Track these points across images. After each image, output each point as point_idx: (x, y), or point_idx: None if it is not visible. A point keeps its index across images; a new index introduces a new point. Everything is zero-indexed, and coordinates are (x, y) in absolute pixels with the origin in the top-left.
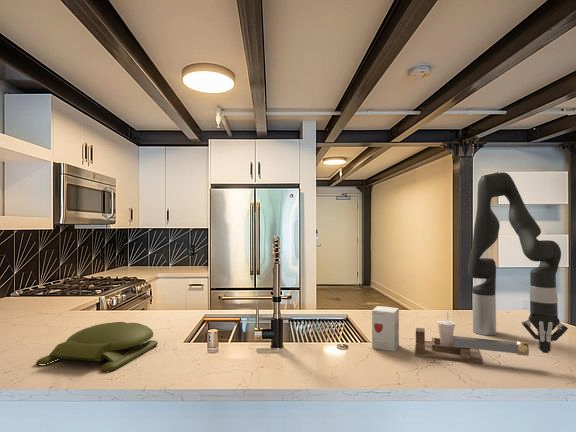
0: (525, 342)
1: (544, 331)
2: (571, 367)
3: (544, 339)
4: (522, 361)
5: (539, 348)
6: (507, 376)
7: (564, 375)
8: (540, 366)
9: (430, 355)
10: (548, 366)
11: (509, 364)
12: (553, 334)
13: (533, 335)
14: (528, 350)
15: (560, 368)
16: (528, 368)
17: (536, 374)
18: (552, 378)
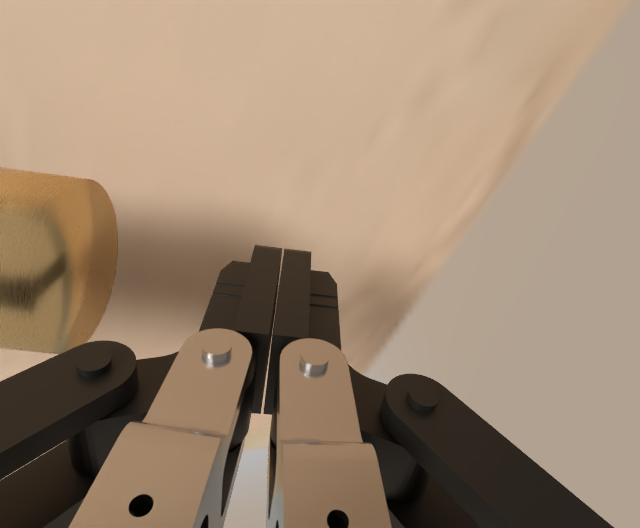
0: (12, 327)
1: (281, 468)
2: (560, 99)
3: (241, 452)
4: (136, 20)
5: (224, 273)
6: (3, 379)
7: (376, 295)
8: (274, 140)
9: None
10: (349, 123)
11: (8, 152)
12: (435, 468)
13: (55, 484)
14: (85, 335)
15: (433, 153)
16: (157, 215)
17: (187, 316)
18: (269, 355)
